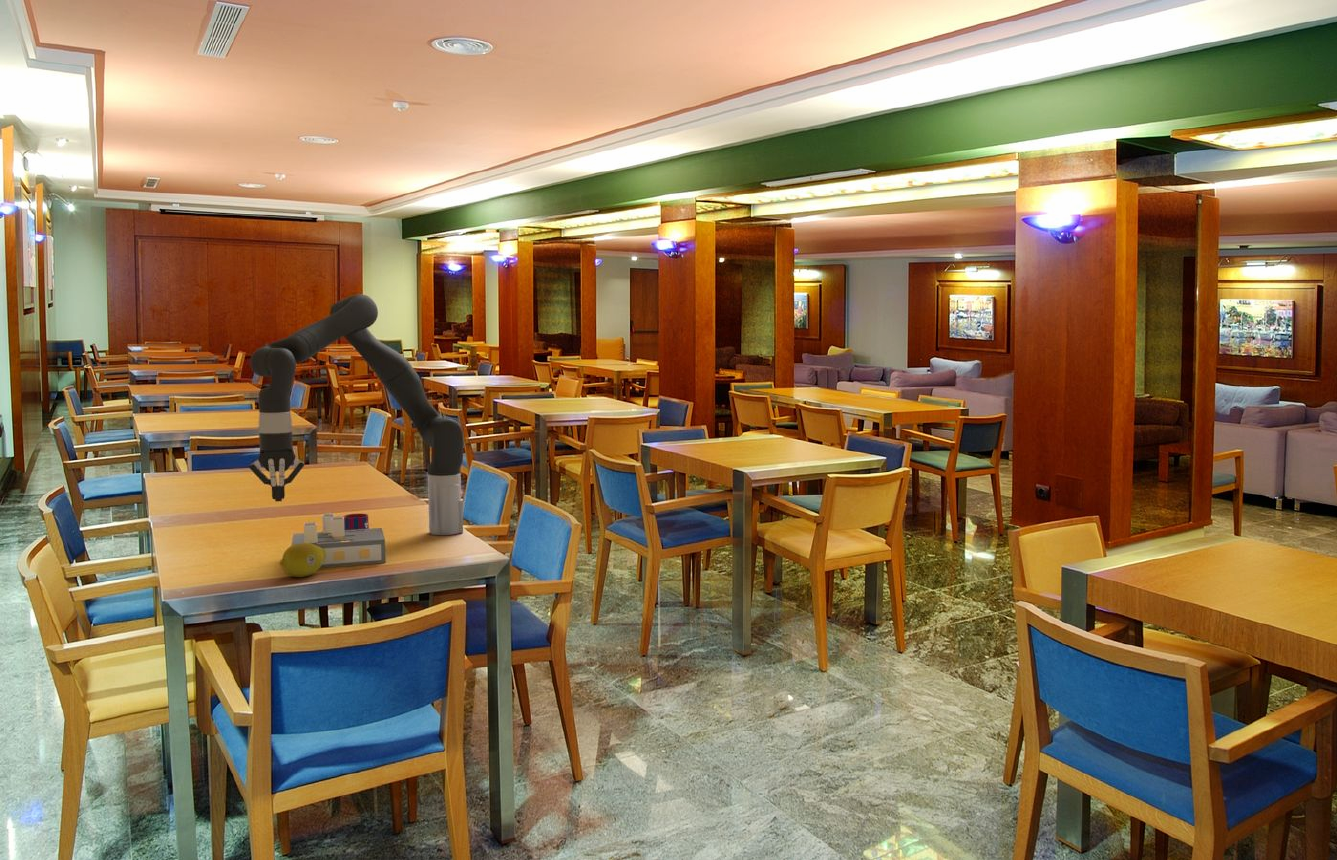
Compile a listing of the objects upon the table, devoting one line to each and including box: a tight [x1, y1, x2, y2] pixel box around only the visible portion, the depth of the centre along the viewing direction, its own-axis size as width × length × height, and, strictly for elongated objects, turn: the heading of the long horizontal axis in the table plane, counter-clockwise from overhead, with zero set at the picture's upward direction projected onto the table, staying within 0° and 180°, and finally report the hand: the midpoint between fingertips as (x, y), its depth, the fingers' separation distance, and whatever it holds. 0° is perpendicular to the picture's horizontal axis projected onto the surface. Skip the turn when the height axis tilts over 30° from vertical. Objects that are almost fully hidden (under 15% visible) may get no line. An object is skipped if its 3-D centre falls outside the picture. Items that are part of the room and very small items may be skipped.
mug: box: [343, 513, 370, 530], centre depth 273 cm, size 7×10×7 cm
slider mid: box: [332, 515, 345, 537], centre depth 249 cm, size 3×3×5 cm
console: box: [290, 527, 387, 569], centre depth 249 cm, size 22×16×6 cm
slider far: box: [321, 512, 336, 534], centre depth 253 cm, size 3×3×5 cm
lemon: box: [279, 543, 326, 578], centre depth 233 cm, size 11×8×8 cm
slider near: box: [303, 521, 318, 543], centre depth 241 cm, size 3×3×5 cm
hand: (278, 500), depth 238 cm, fingers closed
